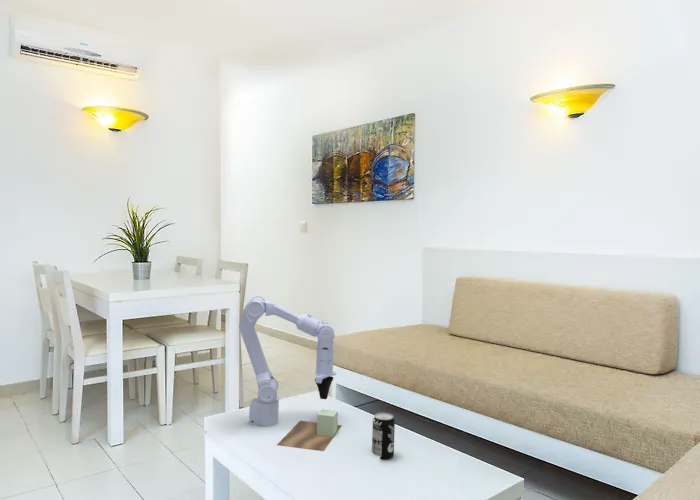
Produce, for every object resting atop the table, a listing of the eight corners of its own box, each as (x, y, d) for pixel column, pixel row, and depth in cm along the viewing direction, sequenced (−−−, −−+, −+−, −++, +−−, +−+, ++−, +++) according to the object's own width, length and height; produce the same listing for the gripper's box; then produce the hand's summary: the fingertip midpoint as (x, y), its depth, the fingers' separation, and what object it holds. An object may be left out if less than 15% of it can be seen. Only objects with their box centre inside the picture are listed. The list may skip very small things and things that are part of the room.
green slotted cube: (316, 435, 166) (317, 414, 166) (321, 429, 171) (322, 409, 171) (332, 436, 165) (333, 416, 165) (337, 430, 170) (337, 411, 170)
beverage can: (393, 451, 158) (395, 412, 157) (393, 461, 151) (394, 420, 151) (372, 450, 158) (373, 411, 158) (371, 459, 152) (372, 419, 151)
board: (276, 448, 157) (276, 445, 157) (300, 423, 179) (300, 420, 179) (323, 455, 154) (323, 451, 154) (341, 428, 175) (342, 425, 175)
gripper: (330, 365, 169) (329, 406, 170) (341, 355, 183) (340, 393, 184) (309, 363, 171) (308, 404, 171) (322, 354, 185) (321, 391, 185)
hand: (323, 398), depth 178 cm, fingers closed
